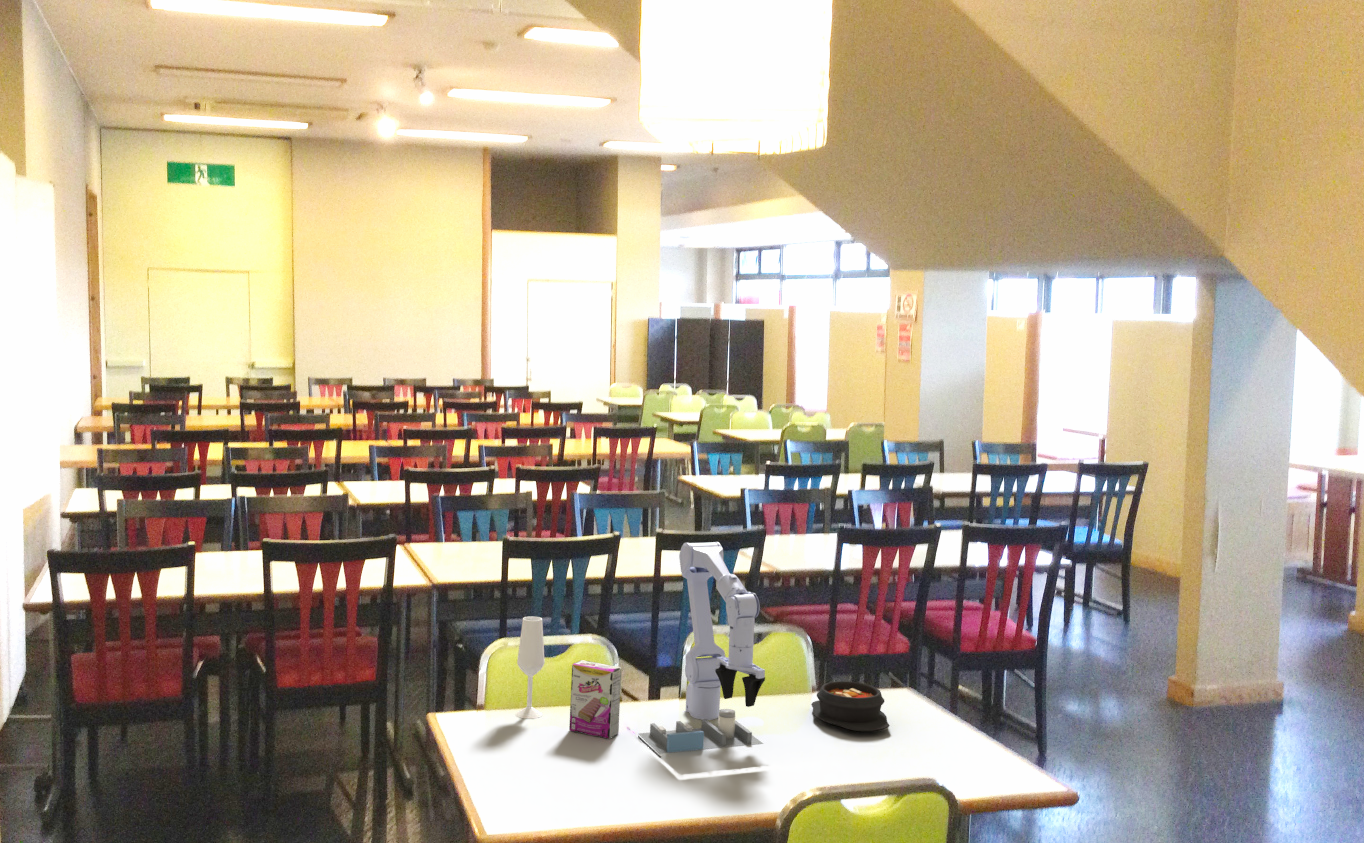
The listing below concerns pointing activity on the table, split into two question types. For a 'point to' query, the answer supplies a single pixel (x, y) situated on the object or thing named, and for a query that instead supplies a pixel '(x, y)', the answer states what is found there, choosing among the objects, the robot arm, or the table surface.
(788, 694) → the table surface
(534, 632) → the champagne flute
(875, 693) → the casserole
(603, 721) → the candy bar box
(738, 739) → the grey slotted rack
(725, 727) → the cream rounded cylinder
